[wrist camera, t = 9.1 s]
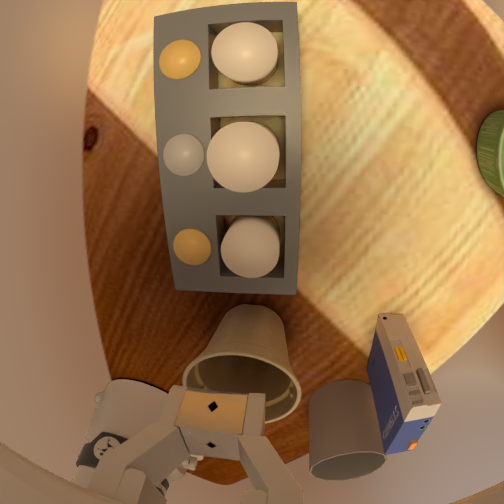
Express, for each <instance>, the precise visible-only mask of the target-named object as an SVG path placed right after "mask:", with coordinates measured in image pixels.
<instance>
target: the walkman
mask: <svg viewBox="0 0 504 504" xmlns="http://www.w3.org/2000/svg"><path fill="white" fill-rule="evenodd" d="M367 372H368V377H369V381H370V385H371V390H372V394H373V399H374V403H375V408H376V413H377V418H378V423H379V428H380V433H381V438H382V444H383V450H384V455H387V454H392V453H399V452H404V451H409V450H411V449H413V448H414V447H415V446H416V445H417V443H418V442H417V441H418V439H419V438H420V437H421V435H422V434H423V432H424V431H425V429H426V428H427V426H428V425H429V423H430V422H431V420H432V418H433V417H434V415H435V413H436V412H437V410H438V408H439V407H440V405H441V400H440V398H439V395H438V393H437V390H436V388H435V385H434V383H433V380H432V378H431V375H430V373H429V370H428V368H427V366H426V363H425V361H424V359H423V356H422V354H421V352H420V350H419V347H418V345H417V343H416V341H415V339H414V336H413V334H412V332H411V330H410V328H409V326H408V324H407V322H406V320H405V318H404V316H403V314H394V315H392V313H385V314H379V316H378V321H377V326H376V331H375V335H374V340H373V344H372V348H371V352H370V356H369V360H368V364H367Z"/></svg>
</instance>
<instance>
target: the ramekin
mask: <svg viewBox="0 0 504 504" xmlns="http://www.w3.org/2000/svg"><path fill="white" fill-rule="evenodd" d="M477 160H478V165H479V168H480V171H481V174H482V176H483V178H484V180H485V181H486V183H487V184H488V185H489V186H490V187H491V188H492V189H493V190H494V191H496V192H497V193H498V194H500V195H501V196H503V197H504V110H498V111H495V112H493V113H491V114H490V115H489V116H488V117H487V118H486V119H485V120H484V122H483V124H482V126H481V127H480V131H479V134H478V139H477Z"/></svg>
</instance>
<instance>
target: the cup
mask: <svg viewBox="0 0 504 504" xmlns="http://www.w3.org/2000/svg"><path fill="white" fill-rule="evenodd" d="M309 455H310V456H309V457H310V458H309V469H310V470H309V473H310V474H311V475H312V476H313V477H315V478H317V479H321V480H325V481H343V480H349V479H355V478H359V477H362V476H365V475H368V474H371V473H372V472H374V471H376V470H378V469H379V468H381V467H382V466H383V465H384V464H385V462H386V461H387V458H386V455H384V450H383V444H382V438H381V433H380V428H379V423H378V418H377V413H376V408H375V403H374V399H373V394H372V390H371V386H370V385H368V384H366V383H365V382H363V381H359V380H350V379H346V380H341V381H335V382H331V383H329V384H327V385H325V386H322V387H320V388H318V389H317V390H316V391H315V392H314V393H313V394H312V395H311V396H310V400H309Z"/></svg>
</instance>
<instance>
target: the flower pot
mask: <svg viewBox="0 0 504 504" xmlns="http://www.w3.org/2000/svg"><path fill="white" fill-rule="evenodd" d="M182 383H183V386H185V387H192V388H198V389H206V390H213V391H218V390H219V391H232V392H249V393H264V394H265V424H266V423H271V422H274V421H277V420H280V419H282V418H284V417H286V416H287V415H289V414H290V413H292V412H293V411H294V410H295V409H296V407H297V406H298V404H299V402H300V400H301V387H300V383H299V381H298V379H297V378H296V376H295V375H294V372H293V370H292V368H291V366H290V362H289V356H288V350H287V344H286V337H285V330H284V325H283V322H282V320H281V319H280V317H279V316H278V315H277V314H276V313H275V312H274V311H272V310H271V309H269V308H267V307H265V306H262V305H249V304H242V305H238V306H236V307H234V308H232V309H230V310H229V311H228V312H227V313H226V314H225V315H224V317H223V319H222V321H221V323H220V325H219V326H218V328H217V330H216V332H215V333H214V335H213V337H212V338H211V340H210V342H209V344H208V345H207V347H206V349H205V350H204V351H203V352H202V353H201V354H200V355H199V356H198V357H197V358H195V359H194V360H193V361H192V362H190V364H189V365H188V366H187V367H186V369H185V371H184V373H183V377H182Z"/></svg>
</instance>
